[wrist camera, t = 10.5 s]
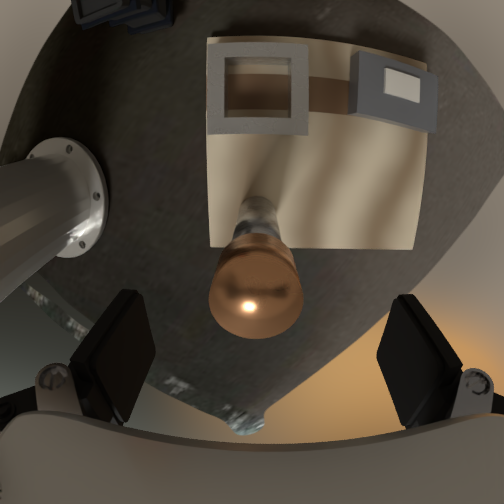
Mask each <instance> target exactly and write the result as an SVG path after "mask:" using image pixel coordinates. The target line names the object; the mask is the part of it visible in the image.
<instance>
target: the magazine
mask: <svg viewBox="0 0 504 504" xmlns="http://www.w3.org/2000/svg"><path fill="white" fill-rule="evenodd" d="M71 3H72V9H73V14H74V19H75V22H76V24H81V26H82V30H85V29H89V28H91V27H94V26H96V25H98V24H101V23H103V22H106V21H108V20H109V25H110V27H115V26H117V25H120V24H123V23H125V24H127V25H128V33H129V34H130V35H133V34H136V33H141V34H145V33H149V32H152V31H156V30H160V29H164V28H168V27H171V26H172V25H173V0H71Z"/></svg>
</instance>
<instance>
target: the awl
mask: <svg viewBox="0 0 504 504" xmlns="http://www.w3.org/2000/svg"><path fill="white" fill-rule="evenodd" d="M209 306H210V310H211V312H212V314H213V316H214V318H215V319H216V321H217V322H218V323H219V324H220V325H221V326H222V327H223V328H224V329H226V330H227V331H229V332H231V333H233V334H235V335H237V336H240V337H244V338H250V339H262V338H268V337H272V336H275V335H278V334H280V333H282V332H283V331H285V330H287V329H288V328H289V327H290V326H292V324H293V323H294V322H295V321H296V320H297V318H298V317H299V315H300V313H301V310H302V306H303V293H302V289H301V285H300V281H299V277H298V273H297V269H296V265H295V262H294V258H293V255H292V253H291V251H290V250H289V248H288V247H287V246H286V245H285V244H284V243H283V242H282V239H281V235H280V230H279V225H278V221H277V216H276V211H275V208H274V205H273V204H272V202H271V201H270V200H268V199H267V198H265V197H262V196H252V197H249V198H248V199H246V200H245V201H244V202H243V203H242V204H241V206H240V209H239V213H238V217H237V221H236V225H235V229H234V234H233V238H232V241H231V242H230V243H229V244H228V245H227V246H226V247H225V248H224V250H223V251H222V253H221V255H220V258H219V261H218V265H217V268H216V271H215V275H214V278H213V282H212V285H211V289H210V293H209Z"/></svg>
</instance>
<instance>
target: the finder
mask: <svg viewBox="0 0 504 504" xmlns="http://www.w3.org/2000/svg"><path fill="white" fill-rule="evenodd" d="M437 108H438V76H437V75H434V74H432V73H429V72H427V71H424V70H422V69H419V68H416V67H414V66H411V65H408V64H405V63H402V62H399V61H396V60H393V59H390V58H387V57H383V56H380V55H376V54H373V53H369V52H365V51H361V50H359V51H357V52H356V53H355V54H354V55H352V56H351V57H350V80H349V99H348V113H347V115H352V116H358V117H363V118H367V119H372V120H376V121H381V122H385V123H389V124H393V125H397V126H401V127H405V128H408V129H412V130H415V131H419V132H422V133H435V134H436V125H437Z"/></svg>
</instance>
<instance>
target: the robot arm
mask: <svg viewBox="0 0 504 504" xmlns="http://www.w3.org/2000/svg"><path fill="white" fill-rule="evenodd" d="M99 193H100V194H99ZM108 205H109V201H108V189H107V185H106V181H105V177H104V174H103V172H102V169H101V167H100V165H99V163H98V161H97V160H96V158H95V156H94V155H93V154H92V153H91V152H90V150H89V149H88V148H87V147H85V146H84V145H83V144H82V143H80V142H79V141H76V140H74V139H72V138H67V137H55V138H50V139H47V140H44V141H43V142H41V143H39V144H38V145H37V146H35V147H34V148H33V149H32V150H31V152H30V153H29V155H28V156H27V157H26V159H25V160H22V161H18V162H15V163H11V164H7V165H4V166H1V167H0V302H1V301H2V300H3V299H4V298H5V297H7V296H8V295H9V294H10V293H11V292H12V291H13V290H14V289H16V288H17V287H18V286H19V285H20V284H21V283H23V282H24V281H25V280H26V279H27V278H28V277H30V276H31V275H32V274H33V273H34V272H36V271H37V270H38V269H39V268H41V267H42V266H43V265H44V264H46V263H47V262H48V261H49V260H51V259H52V258H53V257H55V256H58V257H64V258H70V257H76V256H79V255H81V254H83V253H84V252H86V251H87V250H89V249H90V248H91V247H92V246H93V245H94V244H95V243H96V242H97V241H98V239H99V238H100V236H101V235H102V232H103V230H104V227H105V225H106V220H107V216H108ZM155 352H156V351H155V345H154V341H153V337H152V334H151V330H150V326H149V321H148V317H147V313H146V309H145V304H144V300H143V296H142V295H141V294H139V293H138V291H137V290H130V289H122V290H121V291H120V292H119V293H118V295H117V296H116V297H115V298H114V300H113V301H112V302H111V304H110V305H109V306H108V307H107V309H106V310H105V311H104V313H103V314H102V315H101V317H100V318H99V319H98V321H97V322H96V323H95V325H94V326H93V327H92V329H91V330H90V331H89V333H88V334H87V336H86V337H85V338H84V340H83V341H82V342H81V344H80V345H79V347H78V348H77V349H76V351H75V352H74V354H73V355H72V357H71V358H70V361H71V362H70V364H69V365H68V366H67V365H65V364H63V363H50V364H48V365H46V366H44V367H43V368H42V369H40V371H39V372H38V373H37V375H36V377H35V386H32V387H30V388H27V389H24V390H22V391H18V392H16V393H13V394H10V395H7V396H4V397H2V398H0V504H504V397H503V396H501V395H499V394H496V393H494V384H493V381H492V379H491V378H490V376H489V375H488V374H487V373H485V372H484V371H482V370H480V369H476V368H470V369H467V370H465V371H464V372H462V370H461V367H462V366H463V364H462V362H461V361H460V359H459V357H458V356H457V354H456V353H455V351H454V350H453V349H452V347H451V345H450V344H449V342H448V341H447V339H446V338H445V337H444V335H443V334H442V332H441V331H440V330H439V328H438V327H437V325H436V324H435V322H434V321H433V320H432V318H431V317H430V315H429V314H428V313H427V311H426V310H425V309H424V307H423V306H422V305H421V304H420V302H419V301H418V299H417V298H416V297H415V296H414V295H413V294H402V295H399V296H398V297H397V299H394V300H393V303H392V307H391V310H390V313H389V317H388V320H387V324H386V326H385V329H384V333H383V336H382V338H381V342H380V345H379V347H378V350H377V361H378V364H379V366H380V369H381V371H382V374H383V376H384V379H385V382H386V384H387V387H388V390H389V392H390V395H391V397H392V400H393V403H394V405H395V409H396V411H397V414H398V417H399V420H400V423H401V425H402V426H405V428H406V430H401V431H396V432H391V433H386V434H381V435H375V436H369V437H362V438H355V439H348V440H339V441H328V442H316V443H298V444H246V443H229V442H228V443H227V442H216V441H206V440H197V439H189V438H182V437H175V436H169V435H163V434H158V433H152V432H148V431H143V430H138V429H133V428H129V427H124V426H123V423H124V422H127V421H128V420H129V418H130V415H131V413H132V410H133V408H134V405H135V403H136V400H137V398H138V395H139V393H140V390H141V388H142V385H143V383H144V381H145V378H146V376H147V374H148V371H149V369H150V366H151V364H152V362H153V359H154V357H155Z"/></svg>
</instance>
